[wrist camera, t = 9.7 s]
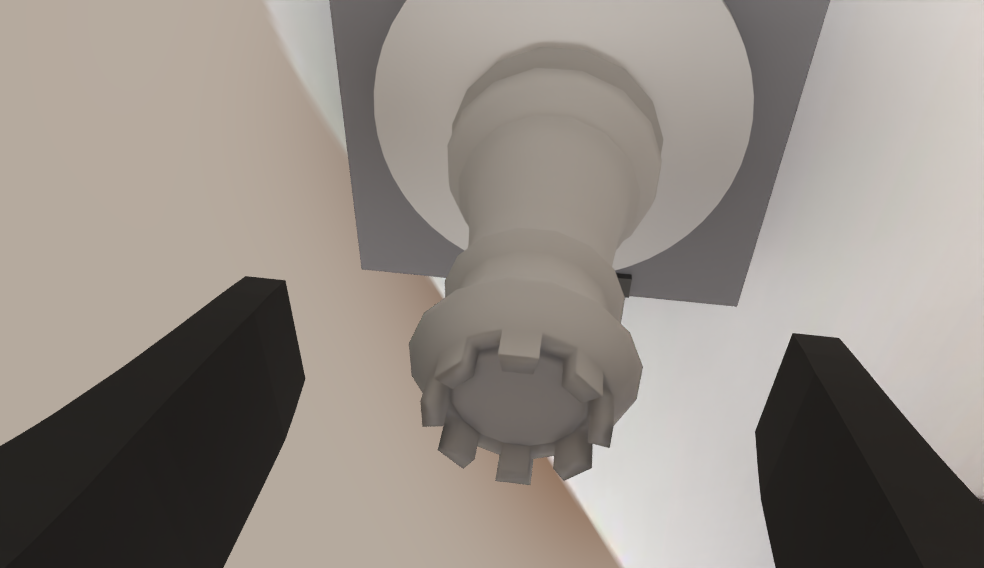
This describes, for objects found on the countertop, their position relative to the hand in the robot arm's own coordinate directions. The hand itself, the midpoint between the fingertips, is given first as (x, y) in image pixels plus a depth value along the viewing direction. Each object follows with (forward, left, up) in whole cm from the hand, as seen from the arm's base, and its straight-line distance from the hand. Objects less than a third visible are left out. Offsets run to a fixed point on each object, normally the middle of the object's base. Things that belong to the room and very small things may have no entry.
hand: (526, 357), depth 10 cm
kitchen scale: (0, 0, -9) cm, 9 cm away
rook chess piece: (0, 0, -7) cm, 7 cm away
